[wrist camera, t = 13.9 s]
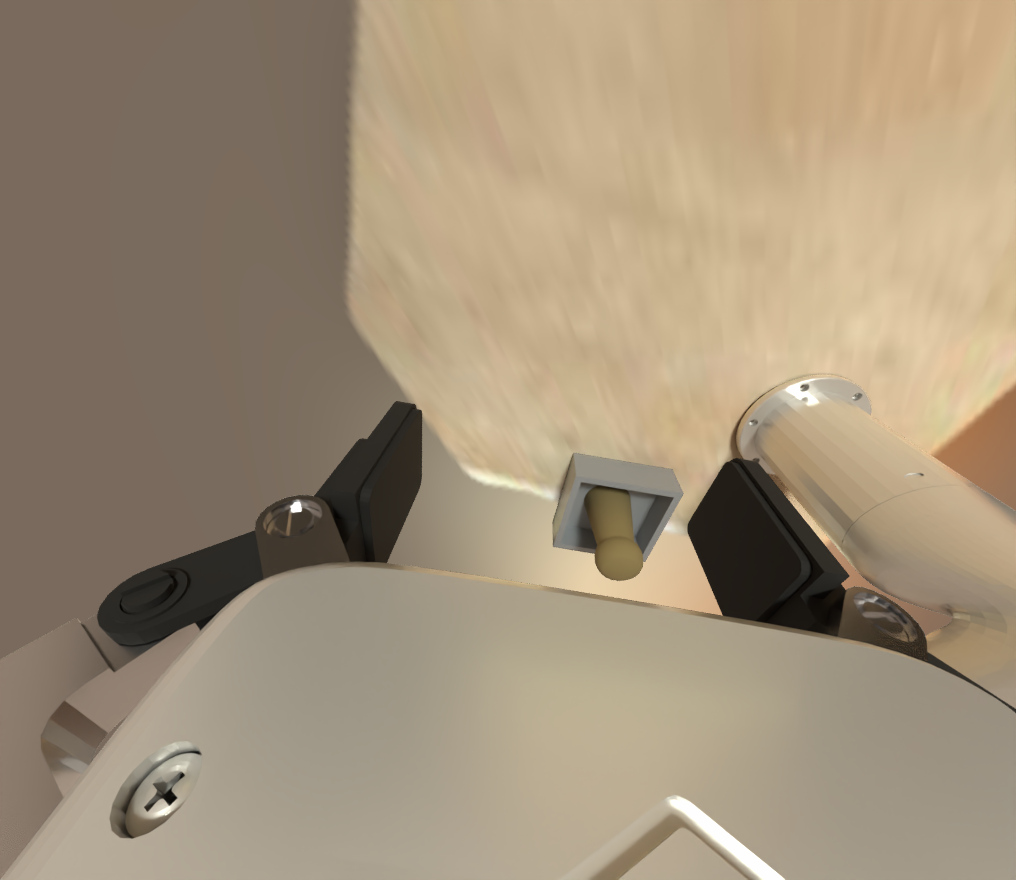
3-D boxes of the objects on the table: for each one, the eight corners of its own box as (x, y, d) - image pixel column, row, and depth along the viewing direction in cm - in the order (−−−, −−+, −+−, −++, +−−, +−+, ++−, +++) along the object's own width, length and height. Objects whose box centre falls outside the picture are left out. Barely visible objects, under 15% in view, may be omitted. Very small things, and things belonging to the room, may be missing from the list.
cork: (589, 520, 50) (599, 592, 41) (579, 488, 47) (587, 558, 38) (634, 512, 48) (654, 585, 39) (626, 479, 45) (646, 549, 36)
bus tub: (672, 469, 45) (683, 493, 41) (638, 536, 52) (645, 562, 49) (573, 452, 45) (576, 475, 41) (552, 521, 52) (553, 546, 48)
